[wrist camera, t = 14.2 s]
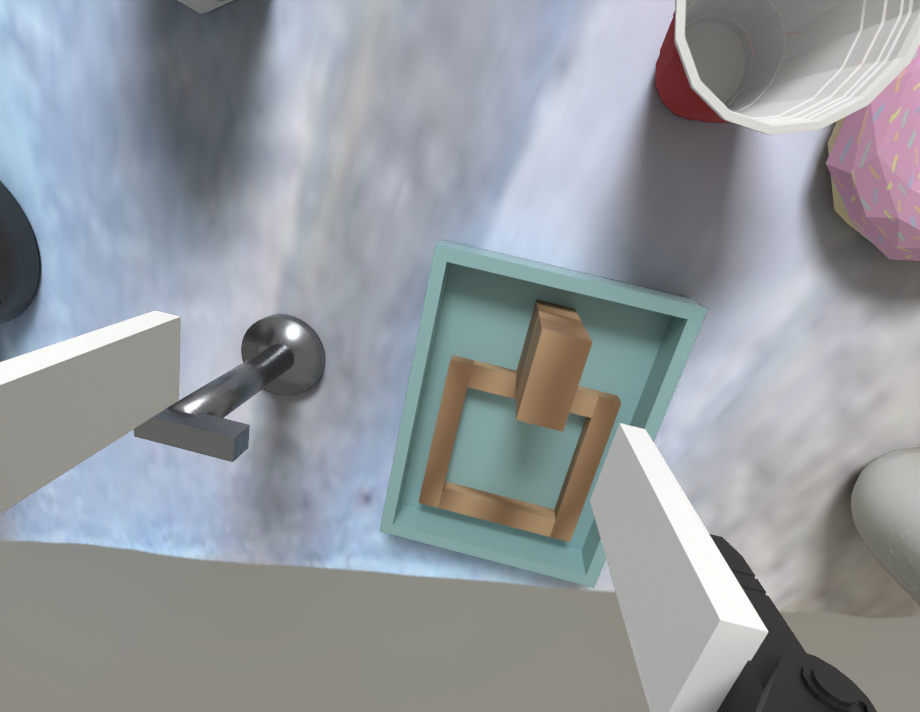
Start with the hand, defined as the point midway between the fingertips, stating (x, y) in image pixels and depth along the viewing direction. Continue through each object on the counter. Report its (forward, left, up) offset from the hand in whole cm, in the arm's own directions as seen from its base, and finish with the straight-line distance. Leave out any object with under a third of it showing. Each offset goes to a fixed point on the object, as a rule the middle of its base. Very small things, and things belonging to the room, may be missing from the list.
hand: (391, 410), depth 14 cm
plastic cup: (+12, +17, -24) cm, 32 cm away
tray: (+7, -10, -24) cm, 27 cm away
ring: (+7, -10, -23) cm, 26 cm away
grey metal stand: (-14, -10, -24) cm, 30 cm away
